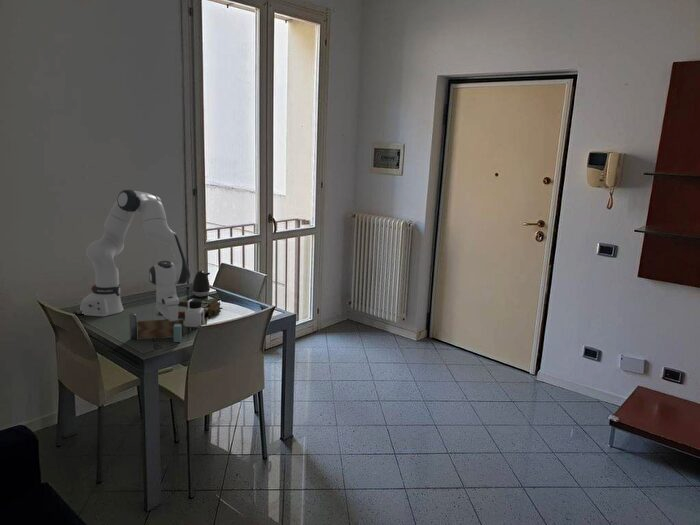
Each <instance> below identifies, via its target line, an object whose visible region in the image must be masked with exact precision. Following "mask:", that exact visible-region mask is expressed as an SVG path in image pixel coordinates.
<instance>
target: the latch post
mask: <svg viewBox="0 0 700 525" xmlns="http://www.w3.org/2000/svg"><path fill="white" fill-rule="evenodd" d="M173 327H174V337H173V343H174V342H181V343H182V341H183V336H182V324H175V325H174V326H173ZM181 340H182V341H181Z"/></svg>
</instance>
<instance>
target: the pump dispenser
mask: <svg viewBox="0 0 700 525" xmlns="http://www.w3.org/2000/svg"><path fill="white" fill-rule="evenodd" d="M209 275H211V273H210V272H205V271H203V270H198V271H197V272H196V273H195V276H194V277H193V281H192V285H191V290H192V293H193V295H194V296H196V297H198V298H204V297H206V296H208V295H209V293H210V290H211V285H210V282H209V281H210V280H209V278H208V276H209ZM203 296H204V297H203Z"/></svg>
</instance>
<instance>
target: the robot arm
mask: <svg viewBox="0 0 700 525" xmlns="http://www.w3.org/2000/svg"><path fill="white" fill-rule="evenodd" d="M164 207H165V206H164V204H163V202H162V199H161V198H160V197H159V196H158V195H155V194H153V193H148V192H145V191H138V190H133V189H123V190H121V191H120V192H119V194H118V196H117V199H116V200H115V202H114V203H113V205H112V207H111V208H110V210H109V212H108V215H107V217H106V219H105V221H104V224H103V227H104V230H103V234H102V236H101V237H100V238H99V239H96V240H94V241H92V242H91V243H89V245H87V247H86V249H85V255H86V257H87V259H88V260H89V261H91V263H92V267H93V270H94V276H95V280H94V281H95V283H94V284H93V285H92V287H91V288H90V289H91V290H90V291H92V292H91V293H89V294H88V295H86V296H85V297H84V298H83V299H82V300H81V302H80V306H79V307H80V310H81V311H83V312H82V314H84V315H83V316H94V317H107V316H110V315H115V314H119V313H121V312H123V311H124V310H125V309H124V306H123V303H122V299H121V290H122V289H121V284H120V276H119V275H120V274H119V272H120V271H119V269H118V268H117V267H116V264H115V262H114V258H115V257H117V256H119V255H120V254H121V253H122V251H123V250H124V248H125V238H126V236H127V235H126V234H127V232H128V230H129V228H130V226H131V224H132V221H133V219H134V217H135V215H136V214H137V215H141V220H142V227H143V228H142V229H143V232H144V234H145V236H147V238H149V239H150V240H152V241H155V242H158V243H161V244H164V245H166V246H168V247H169V249H171V251H172V255H173V258H174V261H175V263H174V262H172V261H171V260H161V261H159V262H157V263H156V264H155V265H152V266H151V267H150V268H149V270H148V273H149V274H148V280H149V282H150V283H152V284H153V285H154V286H156V290H155V296H156V297H155V299H156V301H155V303H156V304H155V306H156V310H157V312H158V311H159V312H160V313H161V314H160V315H162V317H163V320H169V321H170V322H172V321H177V319H179V316H178V311H179V305H178V304H179V301H180V298H179V297H178V294H177V287H176V284H177V285H184V284H186V283H187V282H188V281H189V280H190V278H191V272H190V268H189V265H188V263H187V261H186V259H185V256H184V252H183V249H182V246H181V243H180V239H179V238H178V236H177V233H176V232H175V231H173V230H172V229H171V228H170V226H169V224H168V220H167V214H166V211H165V208H164Z"/></svg>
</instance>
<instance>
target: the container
mask: <svg viewBox="0 0 700 525" xmlns="http://www.w3.org/2000/svg"><path fill="white" fill-rule="evenodd" d="M187 301H188V306H187V310H186V311H185V316H184V327H187V328H199V327H198V326H199V325H202V326H203V324H204V323H205V316H204V308H201V302H202V300H201V299H198V298H191V299H188V300H187Z"/></svg>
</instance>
